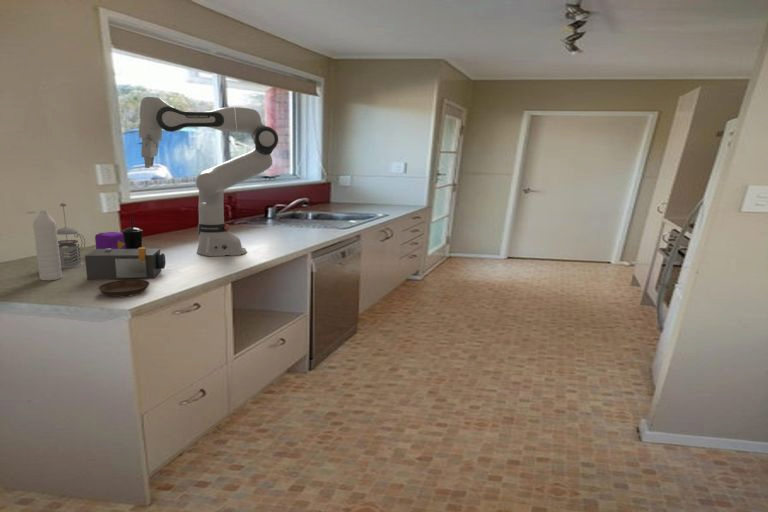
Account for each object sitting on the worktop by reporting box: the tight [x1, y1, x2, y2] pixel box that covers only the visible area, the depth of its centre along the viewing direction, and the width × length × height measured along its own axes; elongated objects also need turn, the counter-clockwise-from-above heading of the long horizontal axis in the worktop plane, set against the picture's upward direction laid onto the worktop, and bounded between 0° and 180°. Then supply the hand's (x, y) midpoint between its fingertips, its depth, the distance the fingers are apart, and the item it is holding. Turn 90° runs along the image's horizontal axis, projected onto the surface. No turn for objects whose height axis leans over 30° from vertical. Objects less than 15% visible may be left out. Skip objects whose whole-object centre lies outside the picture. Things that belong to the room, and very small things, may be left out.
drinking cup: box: [121, 214, 144, 249], centre depth 185 cm, size 8×8×20 cm
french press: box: [56, 202, 86, 269], centre depth 176 cm, size 10×12×25 cm
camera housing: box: [84, 248, 166, 281], centre depth 167 cm, size 24×12×10 cm, turn 103°
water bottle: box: [26, 208, 63, 282], centre depth 155 cm, size 9×6×25 cm
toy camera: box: [94, 231, 126, 250], centre depth 201 cm, size 11×14×10 cm
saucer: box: [97, 279, 150, 298], centre depth 148 cm, size 15×15×3 cm
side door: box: [115, 247, 147, 278], centre depth 160 cm, size 10×2×11 cm, turn 104°
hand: (149, 167), depth 195 cm, fingers open, 8 cm apart
